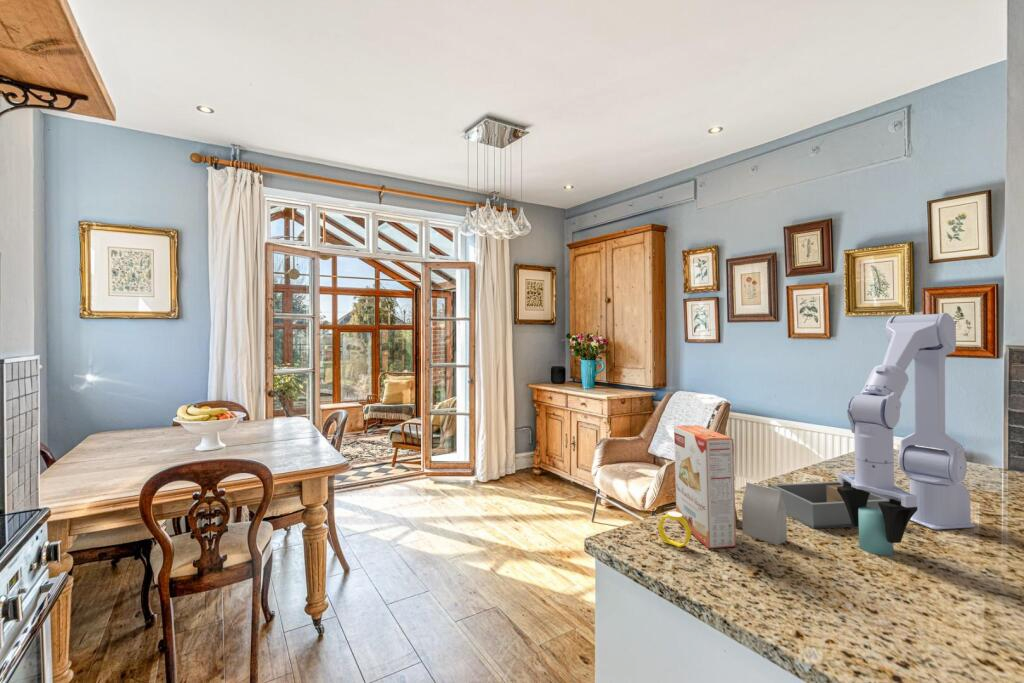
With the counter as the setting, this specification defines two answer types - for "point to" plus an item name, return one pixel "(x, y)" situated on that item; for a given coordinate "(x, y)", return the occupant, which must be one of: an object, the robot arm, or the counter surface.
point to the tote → (818, 505)
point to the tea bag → (764, 514)
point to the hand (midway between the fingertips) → (875, 533)
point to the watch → (679, 517)
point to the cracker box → (706, 484)
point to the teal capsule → (873, 532)
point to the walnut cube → (833, 493)
